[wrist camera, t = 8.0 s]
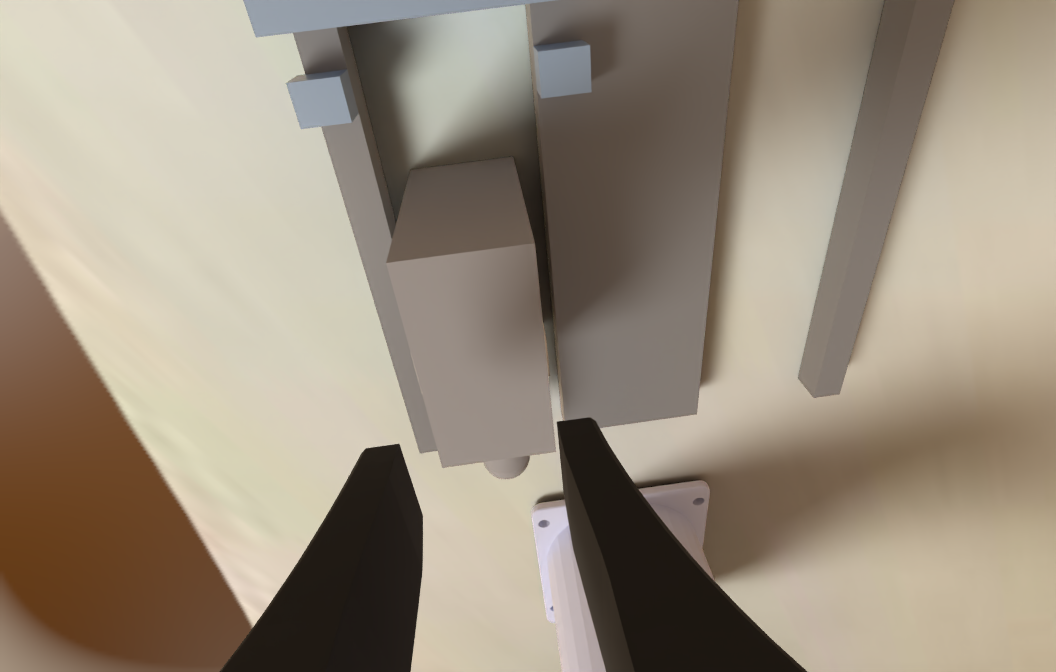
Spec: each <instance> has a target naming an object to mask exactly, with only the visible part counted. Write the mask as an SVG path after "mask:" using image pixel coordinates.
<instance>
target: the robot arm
mask: <svg viewBox="0 0 1056 672" xmlns="http://www.w3.org/2000/svg"><path fill="white" fill-rule="evenodd" d="M557 428H558V438H559V449H560V459H561V470H562V480H563V491H564V500H557V501H550V502H543V503H539V504H536V505H535V506H533V508H532V509H531V515H532V523H533V529H534V536H535V542H536V549H537V556H538V562H539V569H540V576H541V582H542V589H543V595H544V602H545V609H546V615H547V620H548V621H549V622H551V623H555V624H556V632H557V639H558V646H559V654H560V661H561V668H562V672H807V671H806V670H805V669H804V668H803V667H802V666H801V665H799V664H798V663H797V662H796V661H795V660H794V659H793V658H792V657H791V656H789V655H788V654H787V653H786V652H785V651H784V650H783V649H782V648H781V647H780V646H778V645H777V644H776V643H775V642H774V641H773V640H772V639H771V638H770V637H769V636H768V635H767V634H766V633H765V632H764V631H763V630H762V629H761V628H760V627H759V626H758V625H757V624H756V623H755V622H754V621H753V620H752V619H751V618H750V617H749V616H748V615H746V614H745V613H744V612H743V611H742V610H741V609H740V608H739V607H738V606H737V604H736V603H735V602H734V601H733V600H732V599H731V598H730V597H729V596H728V595H727V594H726V593H725V592H724V591H723V590H722V589H721V588H720V587H719V586H718V585H717V584H716V582H715V579H714V577H713V575H712V572H711V570H710V567H709V565H708V562H707V560H706V557H705V555H704V552H703V550H702V549H703V542H704V534H705V527H706V519H707V512H708V505H709V497H710V489H709V486H708V484H707V483H706V482H705V481H701V480H697V481H690V482H683V483H676V484H669V485H662V486H655V487H648V488H641V489H638V488H637V487H636V485H635V484H634V482H633V481H632V480H631V478H630V477H629V475H628V474H627V472H626V471H625V469H624V468H623V466H622V465H621V463H620V462H619V460H618V459H617V457H616V456H615V454H614V452H613V451H612V449H611V448H610V446H609V444H608V443H607V441H606V439H605V437H604V436H603V434H602V432H601V430H600V428H599V426H598V424H597V422H596V421H595V420H594V419H592V418H591V417H587V418H580V419H573V420H566V421H559V422H557ZM422 563H423V515H422V512H421V509H420V506H419V503H418V500H417V497H416V494H415V490H414V487H413V484H412V481H411V478H410V475H409V472H408V469H407V466H406V463H405V460H404V457H403V454H402V451H401V448H400V445H399V444H395V445H387V446H380V447H373V448H366V449H365V450H364V451H363V452H362V454H361V455H360V457H359V459H358V461H357V463H356V465H355V466H354V468H353V470H352V472H351V474H350V476H349V477H348V479H347V481H346V483H345V485H344V486H343V488H342V490H341V492H340V493H339V495H338V497H337V499H336V500H335V502H334V504H333V506H332V507H331V509H330V511H329V512H328V514H327V516H326V518H325V519H324V521H323V523H322V524H321V526H320V527H319V529H318V531H317V532H316V534H315V536H314V537H313V539H312V540H311V542H310V544H309V545H308V547H307V549H306V550H305V552H304V553H303V555H302V557H301V558H300V560H299V561H298V563H297V564H296V566H295V567H294V569H293V570H292V572H291V573H290V575H289V576H288V578H287V579H286V581H285V582H284V584H283V585H282V587H281V588H280V590H279V591H278V593H277V594H276V595H275V597H274V598H273V600H272V601H271V603H270V604H269V606H268V607H267V609H266V610H265V612H264V613H263V614H262V616H261V617H260V619H259V620H258V621H257V623H256V624H255V626H254V627H253V628H252V630H251V631H250V632H249V634H248V635H247V637H246V638H245V639H244V641H243V642H242V643H241V645H240V646H239V647H238V649H237V650H236V651H235V653H234V654H233V655H232V657H231V658H230V659H229V660H228V661H227V663H226V664H225V665H224V667H223V668H222V669H221V671H220V672H410V671H411V662H412V654H413V646H414V638H415V629H416V621H417V613H418V604H419V596H420V587H421V578H422Z"/></svg>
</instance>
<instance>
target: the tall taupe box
mask: <svg viewBox="0 0 1056 672" xmlns="http://www.w3.org/2000/svg"><path fill="white" fill-rule="evenodd" d="M386 265H387V268H388V272H389V276H390V279H391V283H392V286H393V290H394V294H395V297H396V301H397V305H398V308H399V312H400V315H401V319H402V323H403V326H404V330H405V334H406V337H407V341H408V345H409V348H410V352H411V356H412V360H413V363H414V367H415V371H416V374H417V378H418V381H419V385H420V389H421V392H422V395H423V399H424V403H425V406H426V410H427V414H428V417H429V421H430V425H431V428H432V432H433V435H434V439H435V443H436V446H437V450H438V454H439V457H440V461H441V464H442V468H445V467H452V466H459V465H466V464H473V463H480V462H484V465H485V467H486V469H487V470H488V471H489V473H491V474H492V475H493V476H495V477H497V478H500V479H512V478H515V477H517V476H518V475H520V474H521V473H522V472H523V471H524V470H525V469H526V467H527V465H528V462H529V459H530V455H536V454H543V453H550V452H556V447H555V437H554V427H553V417H552V408H551V398H550V388H549V378H548V376H550V372H549V362H548V352H547V342H546V334H545V329H544V324H543V319H542V309H541V299H540V289H539V279H538V269H537V259H536V249H535V242H534V238H533V234H532V230H531V226H530V222H529V218H528V214H527V210H526V206H525V202H524V198H523V194H522V190H521V186H520V182H519V178H518V174H517V170H516V166H515V162H514V158H513V156H512V157H504V158H496V159H489V160H481V161H473V162H466V163H458V164H450V165H442V166H435V167H427V168H419V169H412V170H410V172H409V176H408V180H407V184H406V188H405V192H404V196H403V199H402V203H401V207H400V211H399V215H398V219H397V223H396V226H395V230H394V234H393V238H392V242H391V246H390V250H389V254H388V257H387V261H386Z"/></svg>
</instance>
